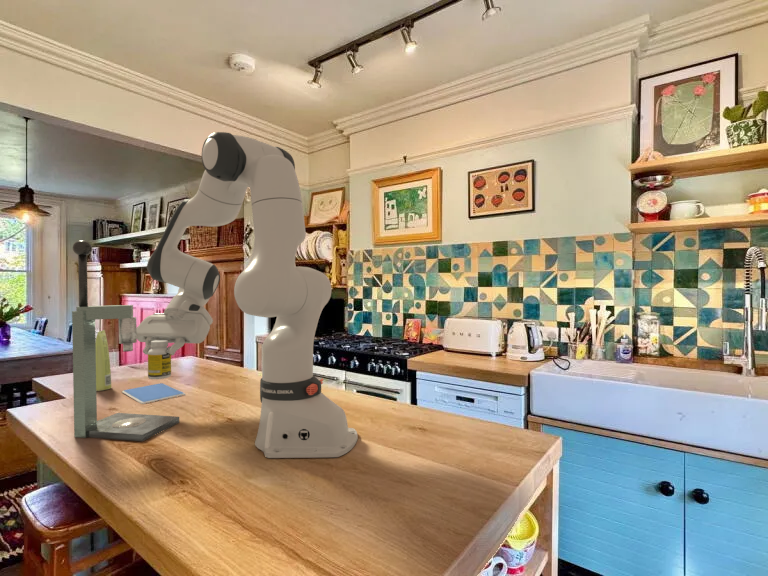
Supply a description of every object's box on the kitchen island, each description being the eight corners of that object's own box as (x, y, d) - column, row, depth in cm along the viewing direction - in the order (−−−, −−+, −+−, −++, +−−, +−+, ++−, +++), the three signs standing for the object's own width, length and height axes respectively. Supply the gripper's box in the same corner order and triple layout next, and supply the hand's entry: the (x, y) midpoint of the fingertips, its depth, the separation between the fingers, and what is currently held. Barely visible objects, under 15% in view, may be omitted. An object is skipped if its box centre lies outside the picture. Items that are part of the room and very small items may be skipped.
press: (179, 422, 101) (176, 243, 100) (139, 442, 88) (136, 237, 87) (117, 418, 104) (114, 244, 103) (71, 437, 91) (67, 239, 91)
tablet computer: (186, 396, 125) (186, 392, 125) (142, 406, 116) (142, 402, 116) (162, 386, 138) (162, 382, 138) (120, 394, 129) (120, 390, 129)
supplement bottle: (164, 380, 104) (163, 342, 103) (143, 379, 104) (142, 342, 104) (175, 374, 109) (174, 339, 109) (156, 374, 109) (155, 339, 109)
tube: (89, 389, 132) (88, 331, 131) (105, 386, 136) (104, 329, 136) (98, 392, 129) (97, 332, 129) (115, 388, 134) (114, 330, 133)
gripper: (144, 306, 115) (116, 345, 105) (208, 306, 111) (185, 347, 102) (156, 320, 119) (130, 359, 110) (218, 321, 116) (197, 361, 106)
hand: (157, 353), depth 106 cm, fingers closed on supplement bottle, 5 cm apart
